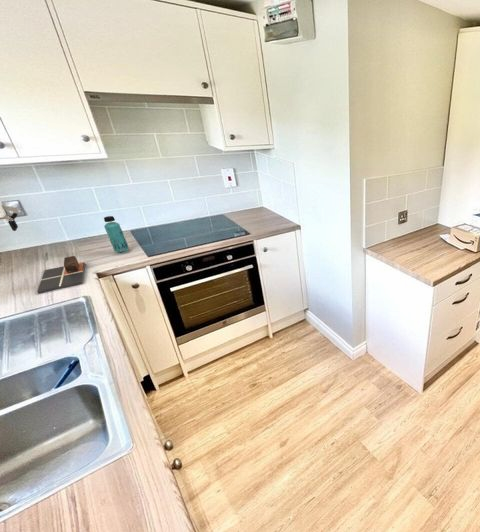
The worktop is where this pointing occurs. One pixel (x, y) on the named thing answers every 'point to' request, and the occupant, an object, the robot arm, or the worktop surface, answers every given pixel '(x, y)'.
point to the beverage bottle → (115, 235)
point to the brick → (71, 264)
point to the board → (60, 278)
